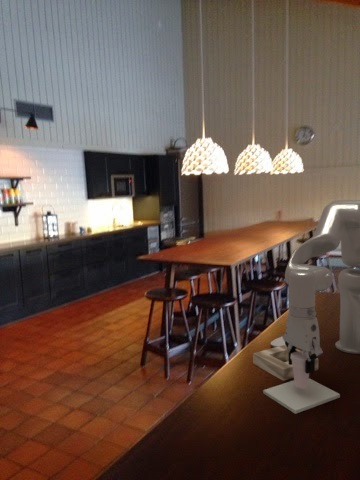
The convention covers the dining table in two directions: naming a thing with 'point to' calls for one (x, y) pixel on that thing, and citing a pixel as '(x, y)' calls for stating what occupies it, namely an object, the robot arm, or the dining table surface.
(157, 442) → the dining table surface
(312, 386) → the serving board
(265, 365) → the wooden square frame
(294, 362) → the smoothie
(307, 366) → the robot arm
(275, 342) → the white long flared piece
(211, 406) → the dining table surface
